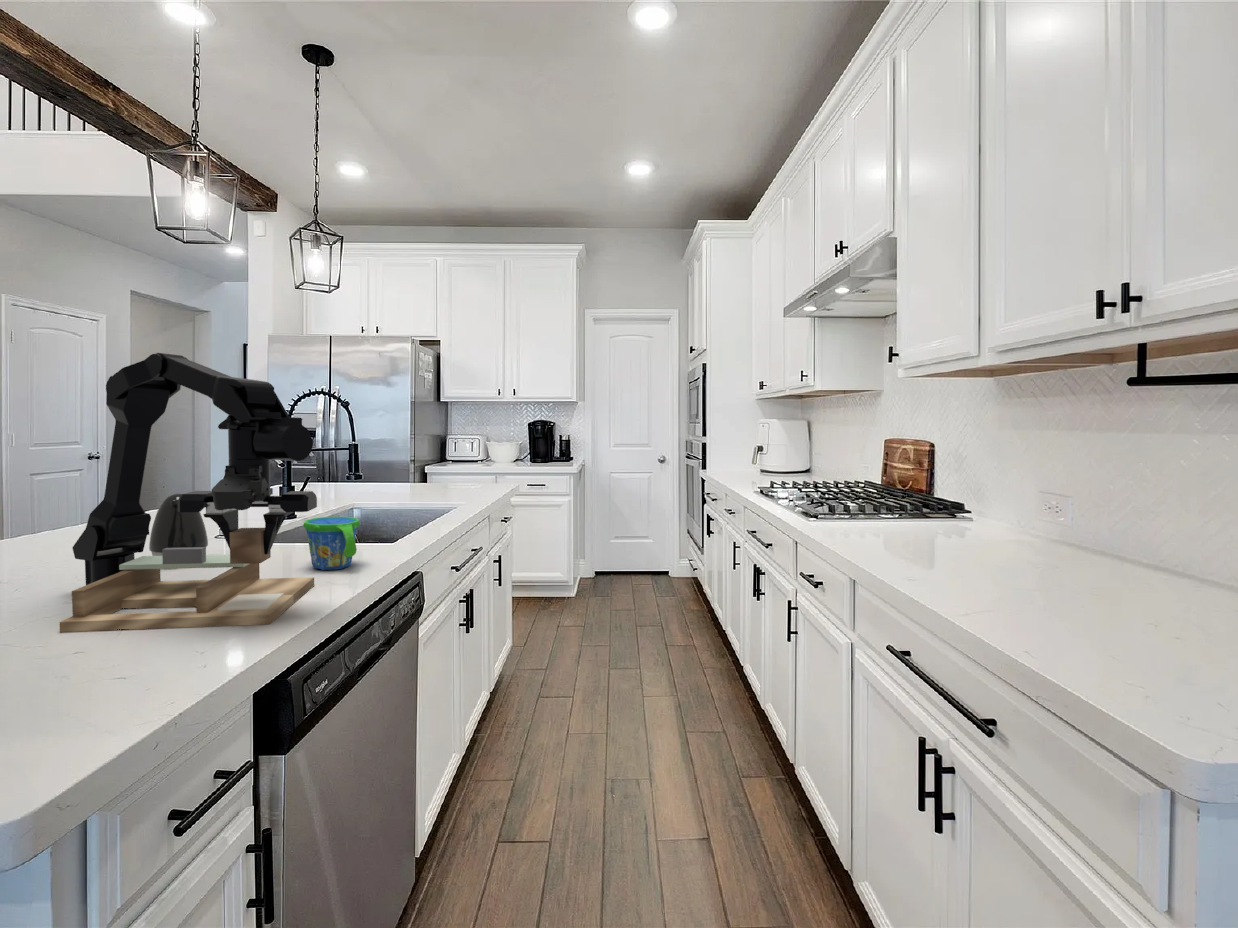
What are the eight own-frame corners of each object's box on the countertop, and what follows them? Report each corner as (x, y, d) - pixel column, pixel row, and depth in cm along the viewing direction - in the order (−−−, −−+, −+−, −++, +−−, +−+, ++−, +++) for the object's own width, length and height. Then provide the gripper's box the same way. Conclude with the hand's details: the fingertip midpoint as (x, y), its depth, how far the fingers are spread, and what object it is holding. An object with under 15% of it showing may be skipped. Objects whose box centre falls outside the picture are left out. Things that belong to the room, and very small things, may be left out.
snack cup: (372, 569, 130) (372, 522, 129) (320, 578, 122) (319, 527, 122) (342, 557, 141) (342, 513, 140) (293, 564, 133) (292, 517, 133)
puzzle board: (59, 632, 89) (58, 594, 89) (148, 589, 112) (147, 559, 111) (270, 624, 94) (269, 588, 94) (314, 585, 117) (313, 556, 117)
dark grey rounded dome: (144, 571, 124) (142, 497, 123) (155, 560, 134) (153, 491, 133) (204, 567, 129) (203, 495, 128) (211, 557, 138) (209, 490, 137)
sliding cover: (119, 569, 103) (118, 550, 103) (142, 560, 110) (142, 542, 110) (243, 567, 107) (243, 548, 106) (259, 558, 113) (258, 540, 113)
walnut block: (230, 563, 97) (229, 532, 97) (241, 557, 101) (241, 527, 101) (260, 563, 98) (260, 532, 98) (270, 557, 102) (270, 527, 102)
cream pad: (217, 610, 96) (217, 608, 96) (238, 596, 104) (238, 594, 103) (266, 609, 97) (266, 607, 97) (283, 595, 105) (283, 593, 105)
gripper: (156, 460, 89) (159, 566, 90) (296, 462, 93) (297, 564, 94) (194, 456, 100) (196, 551, 101) (317, 458, 104) (318, 549, 105)
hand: (250, 554), depth 100 cm, fingers closed on walnut block, 4 cm apart
